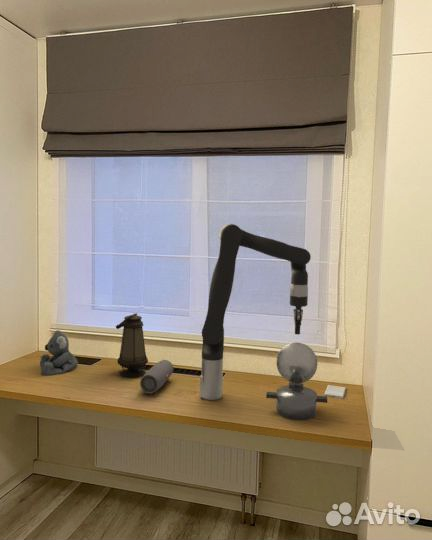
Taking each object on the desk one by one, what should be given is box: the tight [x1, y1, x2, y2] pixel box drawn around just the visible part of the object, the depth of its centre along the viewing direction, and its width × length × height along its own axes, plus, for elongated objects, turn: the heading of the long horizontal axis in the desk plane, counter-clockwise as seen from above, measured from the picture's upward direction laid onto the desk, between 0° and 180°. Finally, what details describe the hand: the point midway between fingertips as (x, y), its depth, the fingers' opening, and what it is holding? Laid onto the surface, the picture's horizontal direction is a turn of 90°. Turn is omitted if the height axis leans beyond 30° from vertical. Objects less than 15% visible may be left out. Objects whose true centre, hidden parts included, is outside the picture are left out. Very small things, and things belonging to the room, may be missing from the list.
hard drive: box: [323, 384, 347, 400], centre depth 201 cm, size 2×8×12 cm
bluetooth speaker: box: [139, 359, 174, 394], centre depth 202 cm, size 23×9×10 cm, turn 168°
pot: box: [265, 384, 328, 421], centre depth 178 cm, size 24×16×8 cm, turn 81°
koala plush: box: [39, 329, 79, 377], centre depth 223 cm, size 17×18×20 cm
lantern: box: [115, 313, 149, 379], centre depth 219 cm, size 18×15×30 cm
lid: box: [276, 341, 318, 387], centre depth 188 cm, size 17×18×4 cm
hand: (297, 334), depth 192 cm, fingers closed
